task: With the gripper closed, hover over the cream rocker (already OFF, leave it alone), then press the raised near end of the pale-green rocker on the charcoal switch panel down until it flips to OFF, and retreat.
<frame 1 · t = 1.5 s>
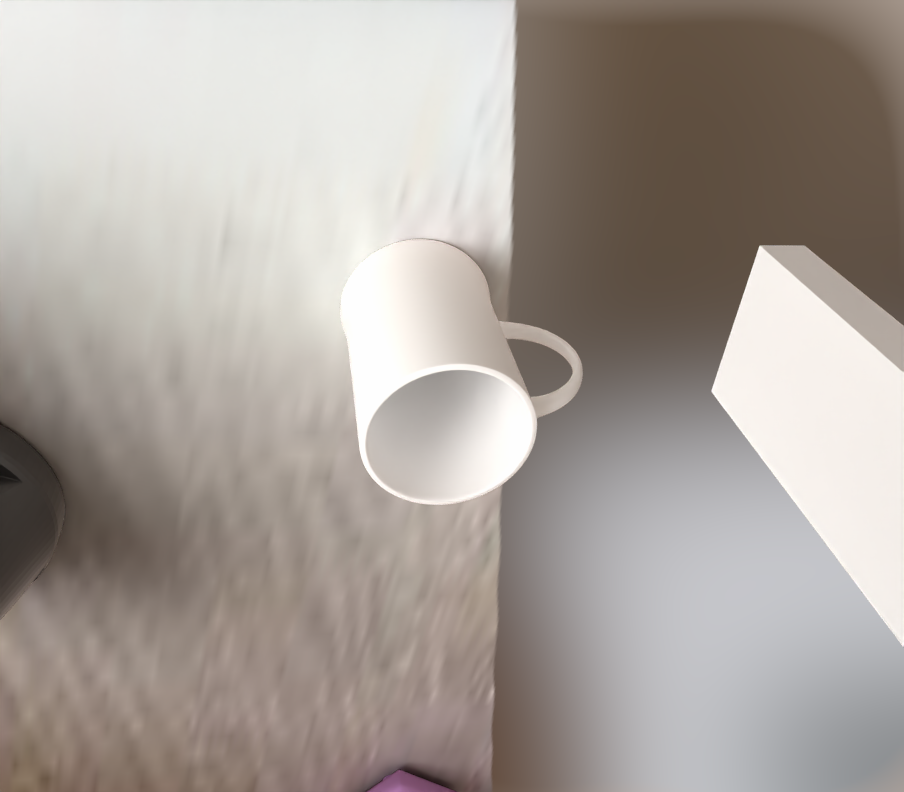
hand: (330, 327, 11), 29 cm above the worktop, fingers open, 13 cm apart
mug: (443, 305, 45), on the worktop
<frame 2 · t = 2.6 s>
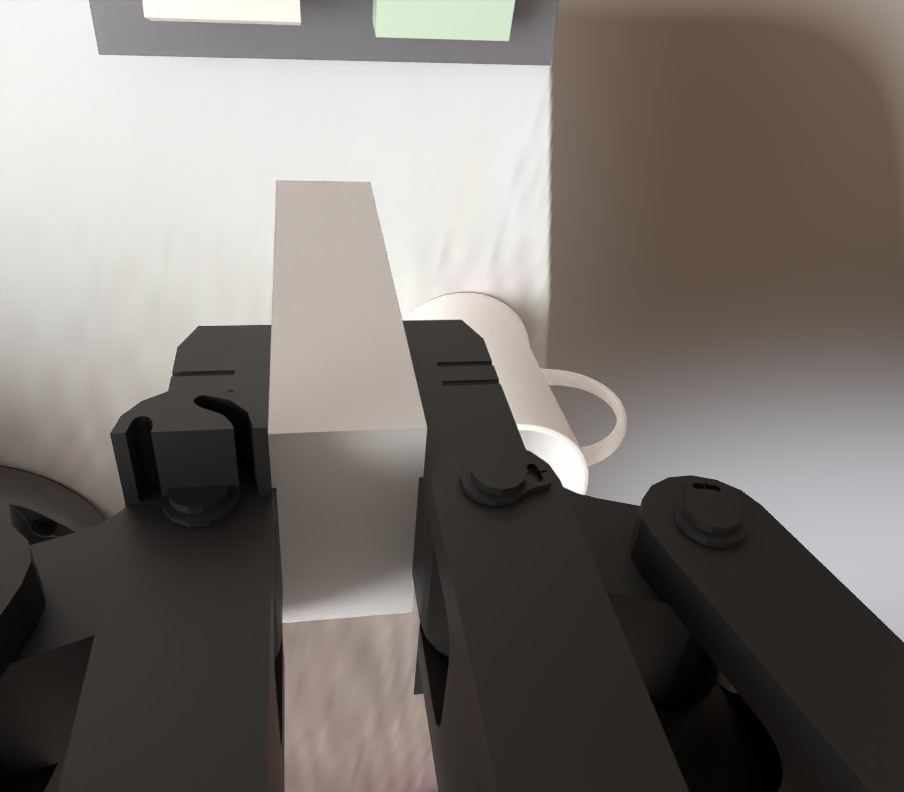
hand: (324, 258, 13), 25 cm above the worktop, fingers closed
mug: (483, 353, 46), on the worktop
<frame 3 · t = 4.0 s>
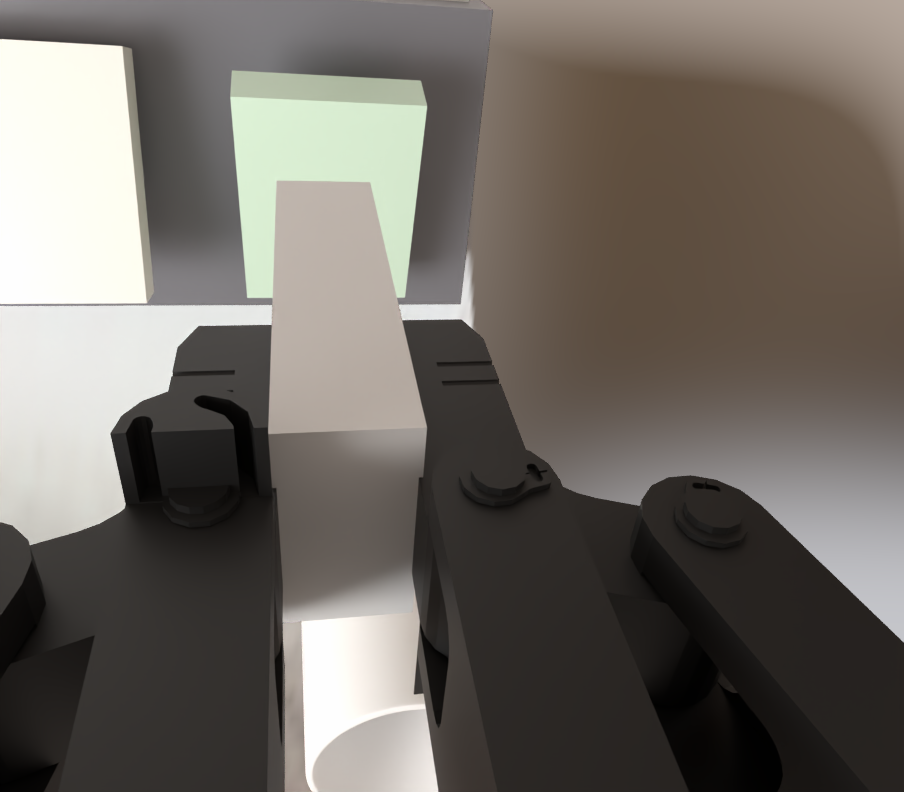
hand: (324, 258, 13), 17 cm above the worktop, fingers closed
switch panel: (206, 126, 28), on the worktop
rocker cream: (42, 176, 22), point 6 cm above the worktop, hinge at -14.0°
rocker green: (328, 196, 24), point 6 cm above the worktop, hinge at 14.0°
mug: (406, 545, 42), on the worktop
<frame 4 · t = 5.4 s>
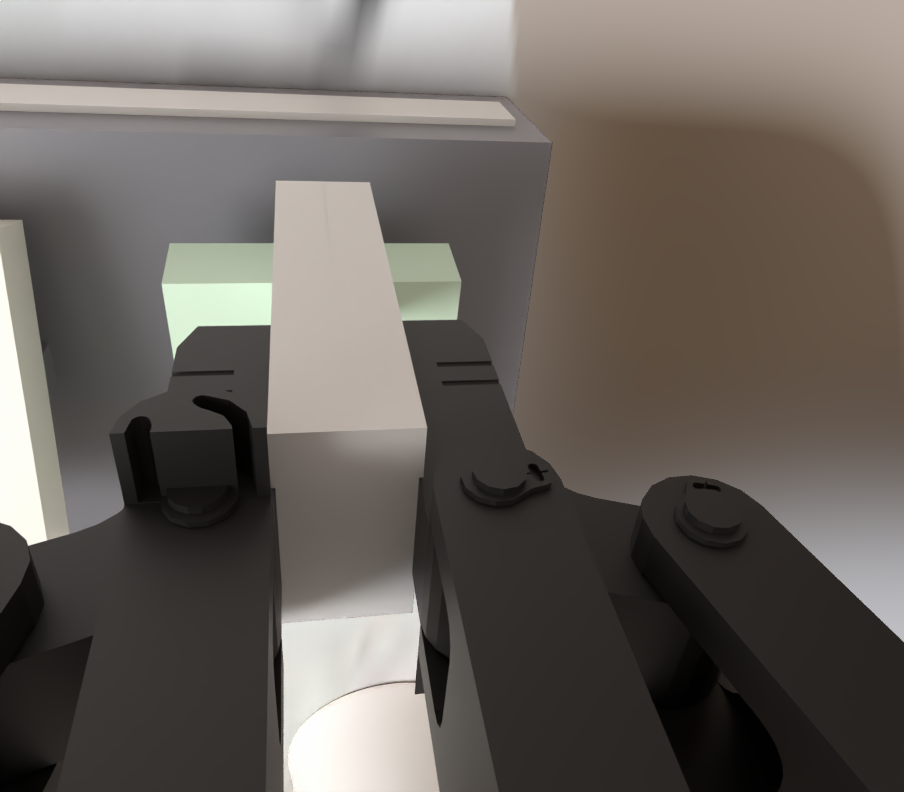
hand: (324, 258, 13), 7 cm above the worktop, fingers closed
switch panel: (154, 282, 21), on the worktop
rocker green: (317, 407, 16), point 6 cm above the worktop, hinge at 6.4°, touching gripper
mug: (424, 734, 34), on the worktop
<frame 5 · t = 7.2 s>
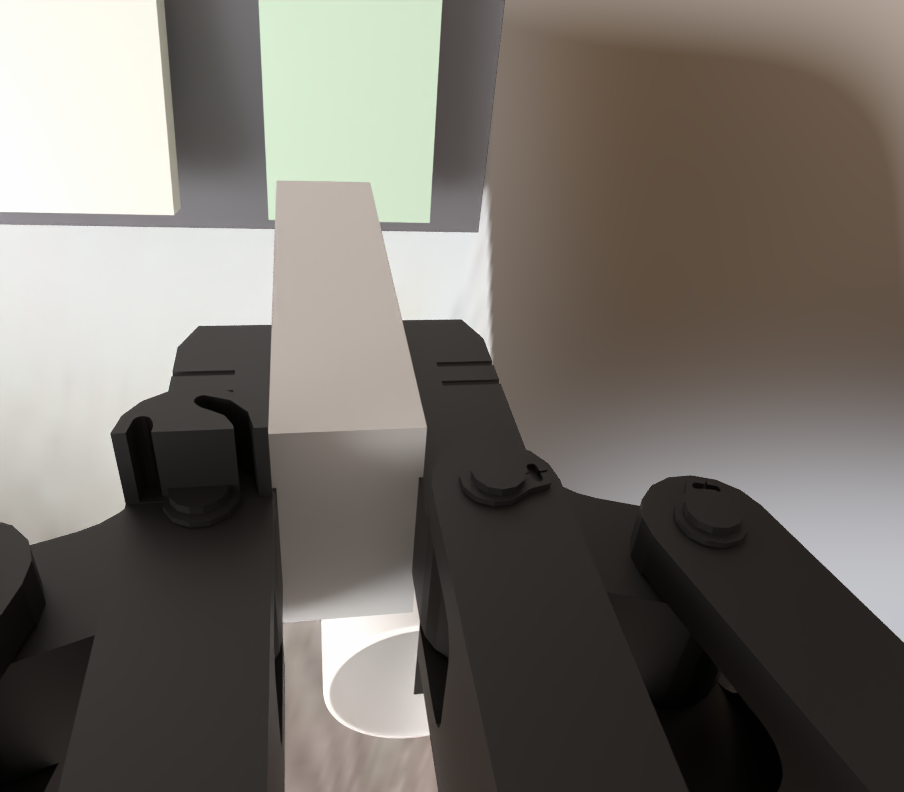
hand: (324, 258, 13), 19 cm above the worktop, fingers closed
switch panel: (230, 53, 28), on the worktop
rocker cream: (74, 88, 23), point 6 cm above the worktop, hinge at -14.0°
rocker green: (350, 104, 24), point 6 cm above the worktop, hinge at -6.5°
mug: (422, 487, 43), on the worktop
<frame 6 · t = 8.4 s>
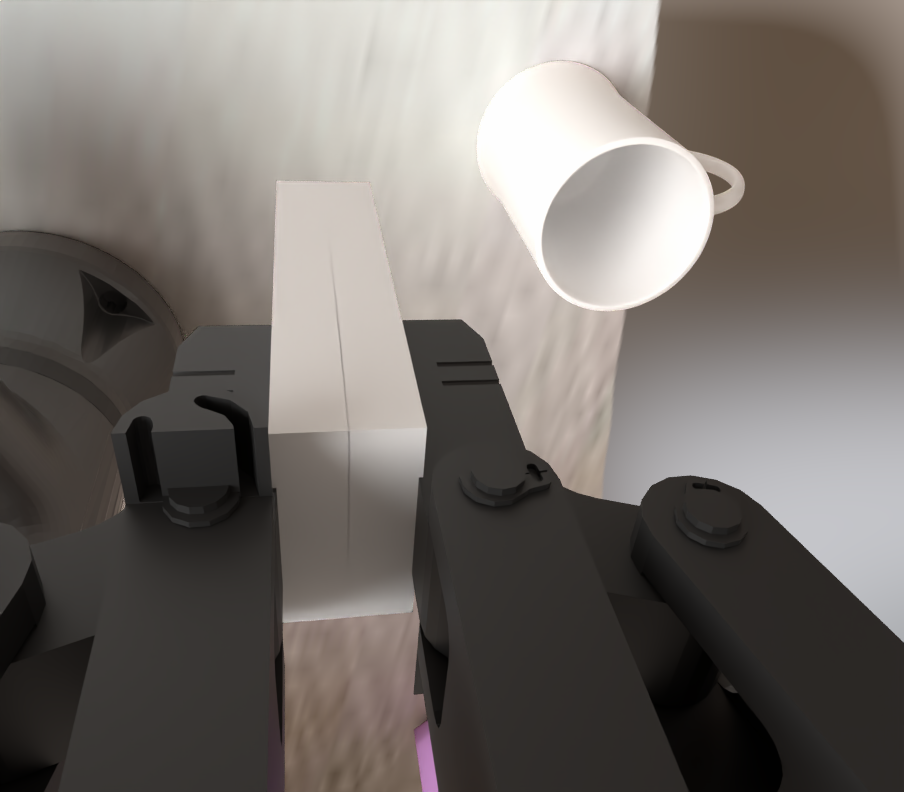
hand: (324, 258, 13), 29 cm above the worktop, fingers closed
teapot: (489, 703, 75), on the worktop
mug: (578, 141, 44), on the worktop
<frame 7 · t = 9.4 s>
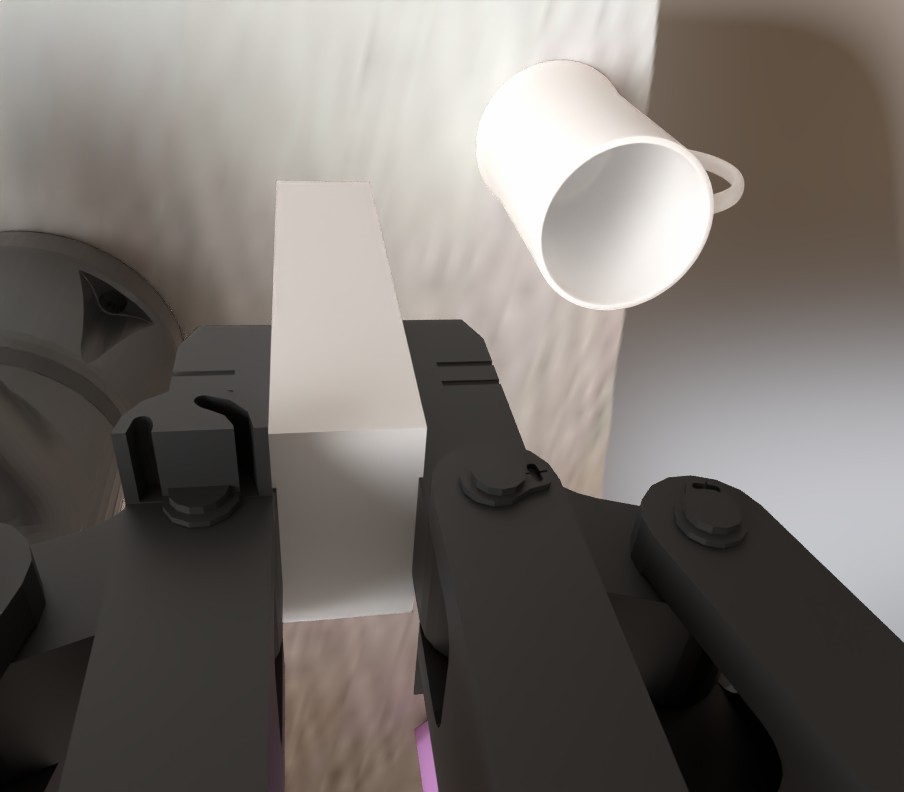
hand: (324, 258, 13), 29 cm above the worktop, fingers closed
teapot: (490, 703, 75), on the worktop
mug: (577, 140, 44), on the worktop
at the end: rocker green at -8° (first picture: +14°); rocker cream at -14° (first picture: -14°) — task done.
